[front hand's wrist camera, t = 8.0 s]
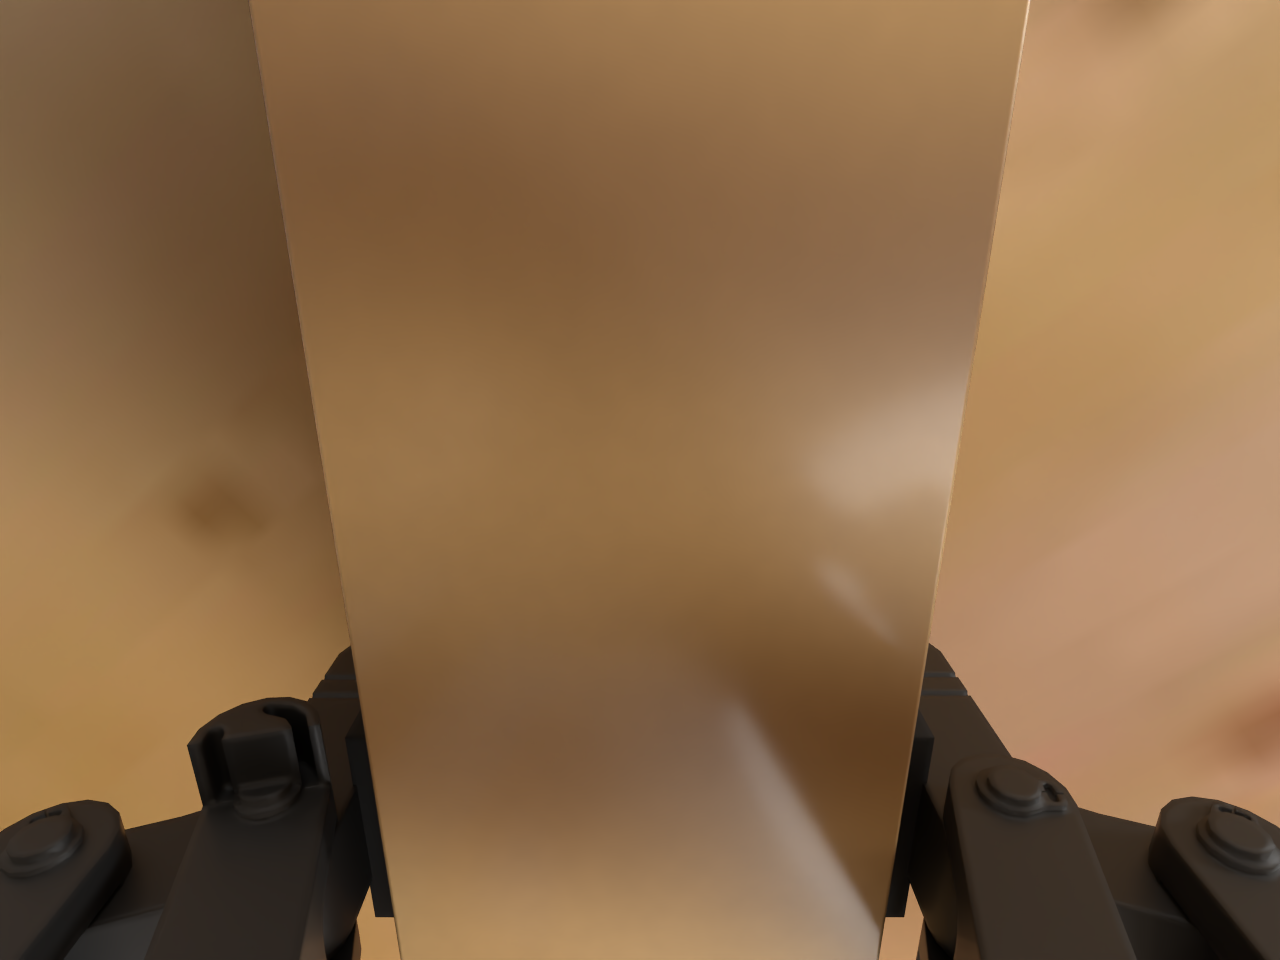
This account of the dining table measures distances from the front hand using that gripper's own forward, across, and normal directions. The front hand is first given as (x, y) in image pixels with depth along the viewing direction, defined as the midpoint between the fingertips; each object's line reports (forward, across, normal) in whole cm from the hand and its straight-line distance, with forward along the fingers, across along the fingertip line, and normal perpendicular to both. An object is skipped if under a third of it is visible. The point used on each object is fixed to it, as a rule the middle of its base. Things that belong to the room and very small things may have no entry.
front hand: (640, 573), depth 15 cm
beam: (+1, 0, -24) cm, 24 cm away
